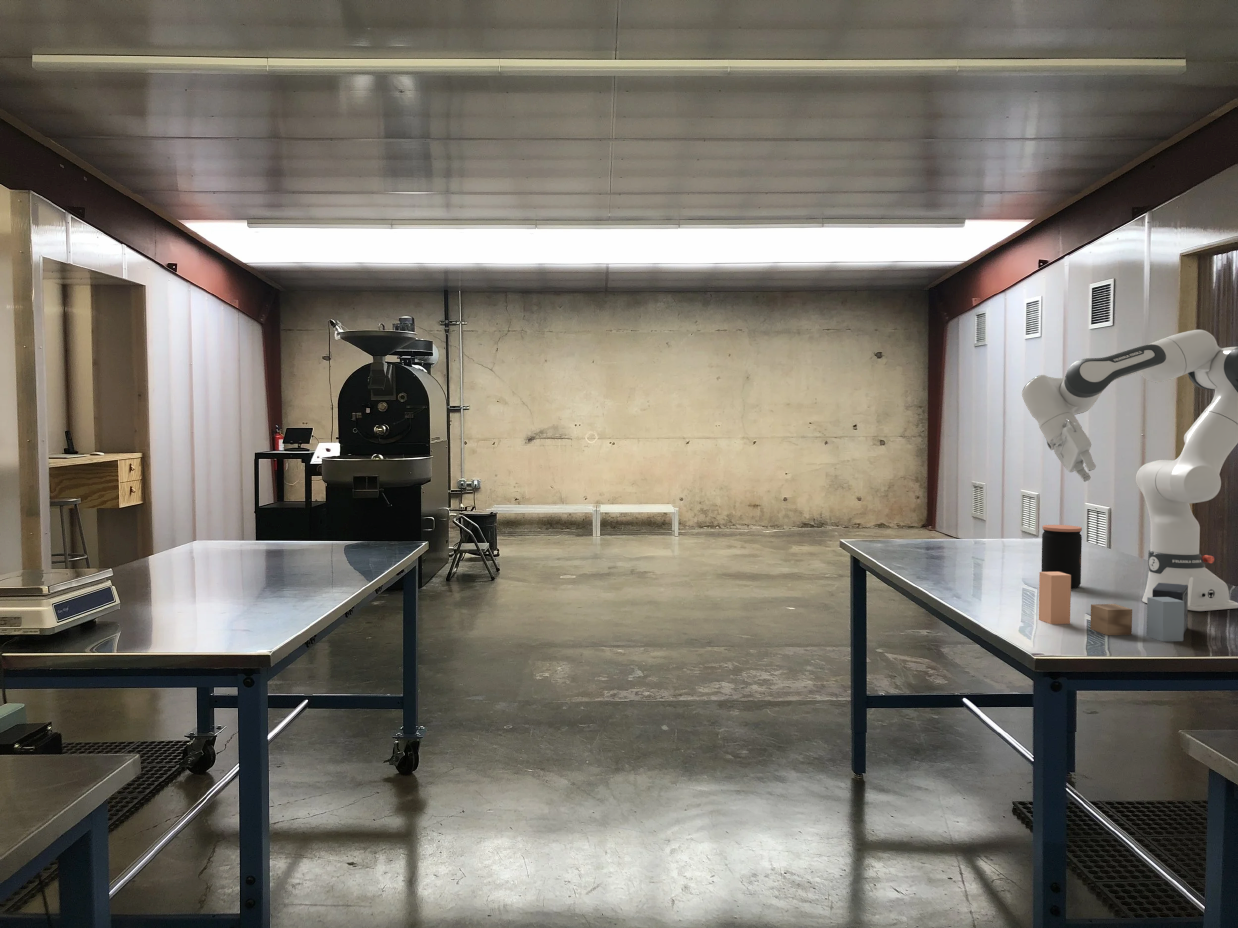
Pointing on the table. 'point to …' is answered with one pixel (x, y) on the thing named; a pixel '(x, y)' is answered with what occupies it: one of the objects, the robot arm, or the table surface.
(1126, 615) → the walnut block
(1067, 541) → the coffee jar
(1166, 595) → the small box
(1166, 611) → the slate block
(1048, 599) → the terracotta block
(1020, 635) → the table surface
